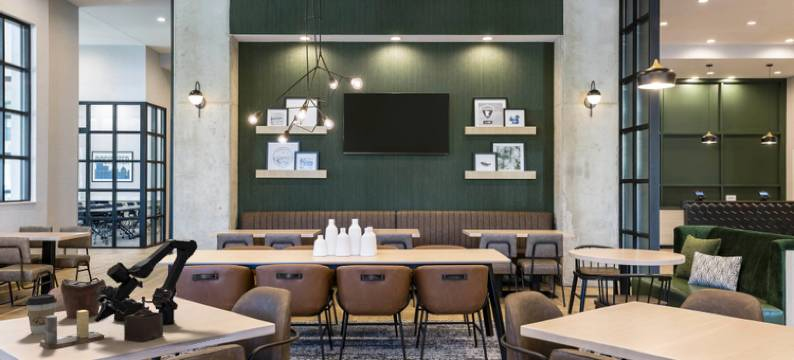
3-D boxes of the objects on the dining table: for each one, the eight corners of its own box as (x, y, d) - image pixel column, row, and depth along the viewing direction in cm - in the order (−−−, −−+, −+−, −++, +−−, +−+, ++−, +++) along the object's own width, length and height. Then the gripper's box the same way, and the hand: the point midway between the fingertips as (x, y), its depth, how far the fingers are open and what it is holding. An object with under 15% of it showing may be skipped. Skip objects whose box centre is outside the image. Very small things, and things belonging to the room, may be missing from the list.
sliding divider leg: (82, 333, 224) (81, 308, 224) (88, 336, 219) (88, 311, 219) (73, 335, 222) (73, 309, 222) (80, 338, 216) (80, 312, 217)
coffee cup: (23, 337, 226) (23, 300, 227) (27, 331, 237) (27, 295, 237) (56, 333, 232) (56, 297, 232) (58, 327, 242) (58, 293, 242)
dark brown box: (144, 342, 215) (143, 296, 215) (123, 340, 219) (123, 294, 220) (174, 333, 229) (174, 289, 230) (154, 330, 234) (154, 287, 234)
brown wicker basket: (114, 312, 270) (114, 275, 270) (72, 321, 253) (71, 282, 254) (94, 309, 280) (93, 274, 280) (52, 318, 263) (51, 279, 263)
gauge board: (94, 334, 229) (94, 306, 229) (104, 339, 221) (104, 309, 222) (40, 344, 214) (39, 314, 215) (48, 349, 207) (48, 318, 207)
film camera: (157, 316, 262) (157, 295, 262) (146, 322, 249) (146, 300, 250) (118, 317, 261) (118, 296, 261) (105, 323, 249) (105, 301, 249)
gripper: (101, 275, 233) (72, 306, 225) (119, 280, 221) (88, 312, 212) (121, 292, 239) (93, 322, 230) (139, 297, 226) (110, 329, 218)
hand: (95, 321), depth 223 cm, fingers closed
